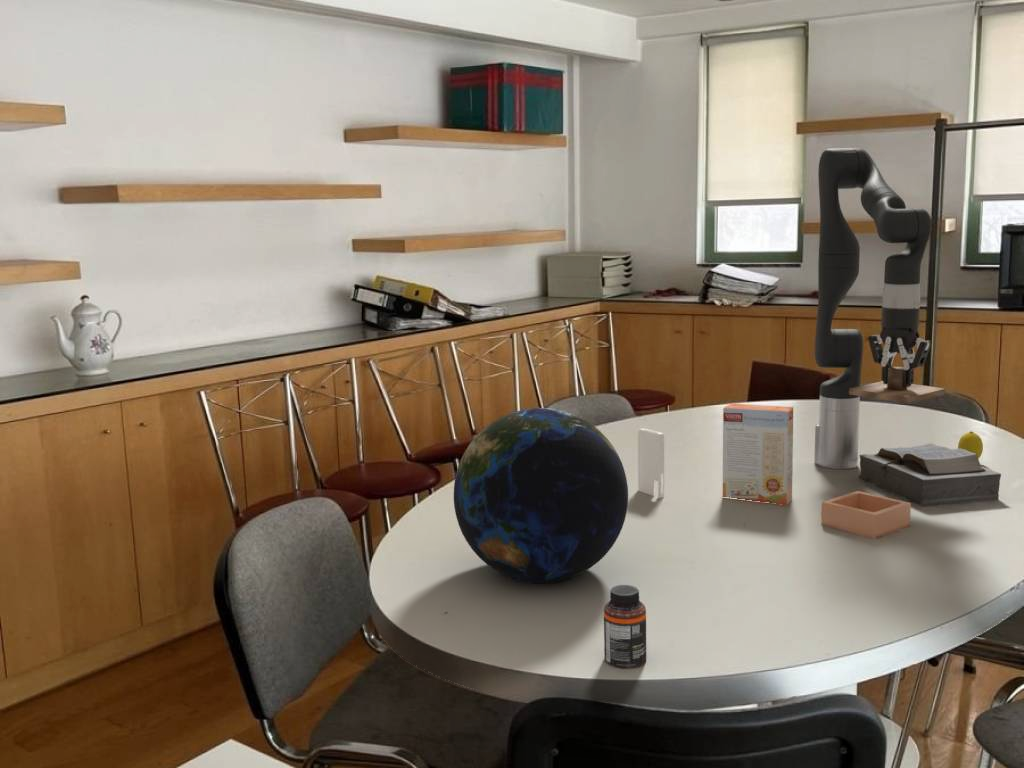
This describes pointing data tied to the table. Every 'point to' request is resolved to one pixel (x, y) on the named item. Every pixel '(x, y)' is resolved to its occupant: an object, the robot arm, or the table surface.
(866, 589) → the table surface
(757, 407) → the cracker box
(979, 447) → the lemon
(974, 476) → the bible
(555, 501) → the globe
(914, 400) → the lid
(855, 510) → the dish
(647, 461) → the phone case
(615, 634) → the supplement bottle
